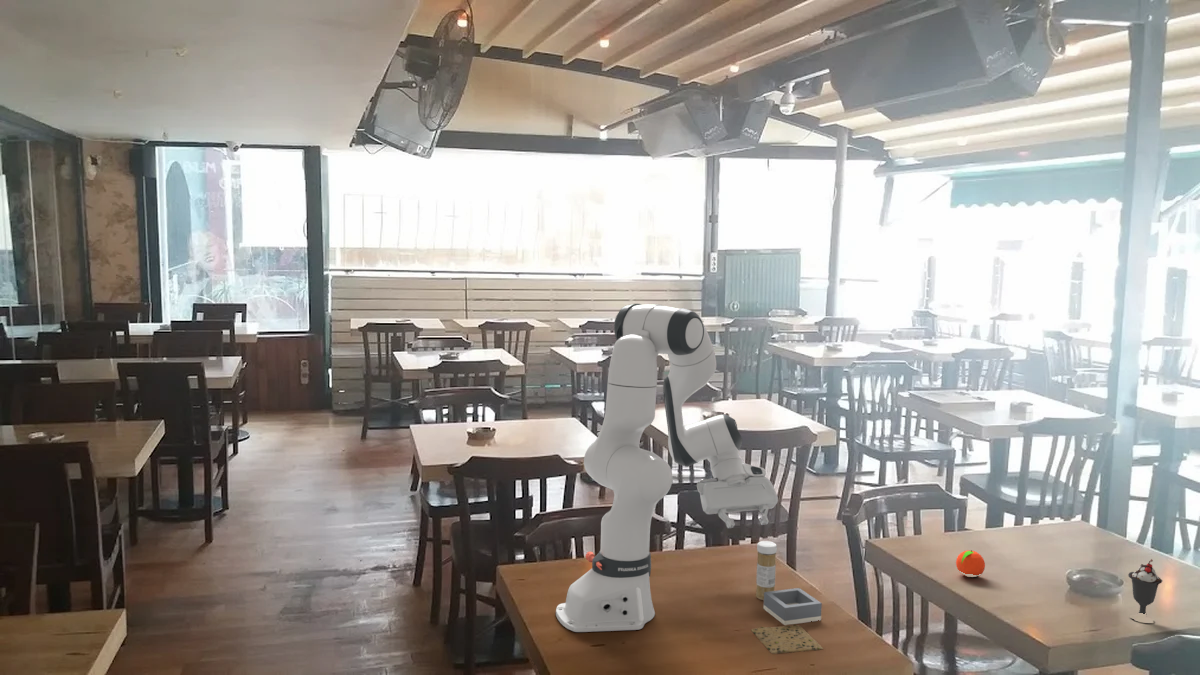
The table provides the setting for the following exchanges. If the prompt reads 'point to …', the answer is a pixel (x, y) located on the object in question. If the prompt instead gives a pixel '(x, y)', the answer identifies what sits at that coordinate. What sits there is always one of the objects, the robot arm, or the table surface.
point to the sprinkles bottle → (765, 568)
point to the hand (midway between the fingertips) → (748, 525)
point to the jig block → (792, 606)
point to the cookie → (786, 639)
